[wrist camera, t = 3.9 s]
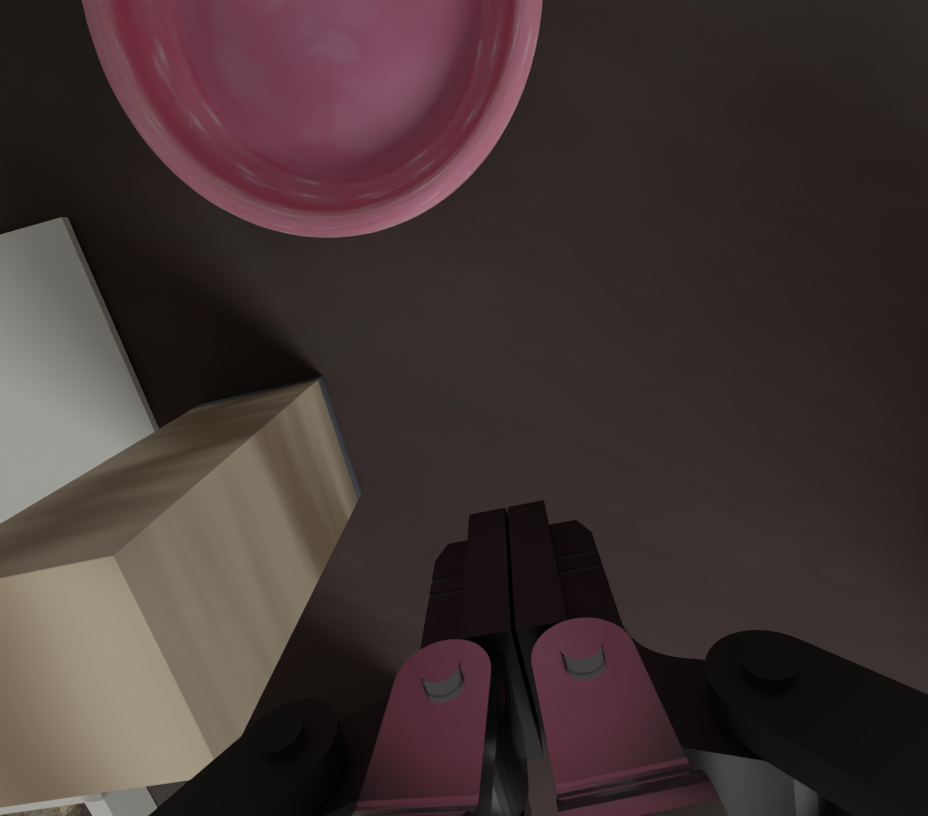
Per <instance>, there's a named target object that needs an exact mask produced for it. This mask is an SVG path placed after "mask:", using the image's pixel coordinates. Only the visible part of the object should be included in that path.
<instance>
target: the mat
mask: <svg viewBox="0 0 928 816" xmlns="http://www.w3.org/2000/svg"><path fill="white" fill-rule="evenodd" d="M158 429H159V427H158V425H157V423H156V420H155V418H154V416H153V414H152V411H151V409H150V407H149V404H148V402H147V400H146V397H145V395H144V393H143V390H142V388H141V386H140V383H139V381H138V379H137V377H136V374H135V372H134V370H133V367H132V365H131V363H130V360H129V358H128V356H127V353H126V351H125V349H124V346H123V344H122V342H121V339H120V337H119V335H118V333H117V330H116V328H115V326H114V323H113V321H112V319H111V316H110V314H109V312H108V309H107V307H106V305H105V302H104V300H103V298H102V296H101V293H100V291H99V289H98V286H97V284H96V282H95V279H94V277H93V275H92V272H91V270H90V268H89V265H88V263H87V261H86V259H85V256H84V254H83V252H82V249H81V247H80V245H79V242H78V240H77V238H76V235H75V233H74V231H73V228H72V226H71V224H70V222H69V219H68V217H61V218H57V219H54V220H50V221H46V222H43V223H39V224H36V225H32V226H29V227H25V228H22V229H18V230H15V231H11V232H8V233H4V234H1V235H0V524H1V523H2V522H4V521H6V520H7V519H9V518H11V517H12V516H14V515H16V514H17V513H19V512H21V511H22V510H24V509H26V508H27V507H29V506H31V505H32V504H34V503H36V502H37V501H39V500H41V499H42V498H44V497H46V496H48V495H49V494H51V493H53V492H54V491H56V490H58V489H59V488H61V487H63V486H64V485H66V484H68V483H69V482H71V481H73V480H74V479H76V478H78V477H79V476H81V475H83V474H84V473H86V472H88V471H89V470H91V469H93V468H94V467H96V466H98V465H100V464H101V463H103V462H105V461H106V460H108V459H110V458H111V457H113V456H115V455H116V454H118V453H120V452H121V451H123V450H125V449H126V448H128V447H130V446H131V445H133V444H135V443H136V442H138V441H140V440H141V439H143V438H145V437H147V436H148V435H150V434H152V433H153V432H155V431H157V430H158Z"/></svg>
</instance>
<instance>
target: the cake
mask: <svg viewBox="0 0 928 816" xmlns="http://www.w3.org/2000/svg"><path fill="white" fill-rule="evenodd" d="M82 804H84V805H86V804H85V803H79V804H72V805H65V806H58V807H51V808H44V809H37V810H30V811H23V812H16V813H9V814H2V815H0V816H80V811H81V805H82Z"/></svg>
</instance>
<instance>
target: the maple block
mask: <svg viewBox="0 0 928 816" xmlns="http://www.w3.org/2000/svg"><path fill="white" fill-rule="evenodd" d="M360 495H361V491H360V488H359V485H358V482H357V479H356V476H355V473H354V470H353V467H352V464H351V461H350V458H349V455H348V452H347V449H346V446H345V443H344V440H343V437H342V434H341V431H340V428H339V424H338V421H337V418H336V415H335V412H334V409H333V406H332V403H331V400H330V397H329V394H328V391H327V388H326V385H325V382H324V379H323V376H320V377H316V378H311V379H307V380H303V381H299V382H294V383H290V384H286V385H281V386H277V387H273V388H268V389H264V390H260V391H255V392H251V393H247V394H243V395H238V396H234V397H230V398H225V399H221V400H217V401H212V402H208V403H204V404H200V405H199V406H197V407H195V408H193V409H192V410H190V411H188V412H187V413H185V414H183V415H182V416H180V417H178V418H177V419H175V420H173V421H172V422H170V423H168V424H167V425H165V426H163V427H162V428H160V429H158V430H157V431H155V432H153V433H152V434H150V435H148V436H147V437H145V438H143V439H141V440H140V441H138V442H136V443H135V444H133V445H131V446H130V447H128V448H126V449H125V450H123V451H121V452H120V453H118V454H116V455H115V456H113V457H111V458H110V459H108V460H106V461H105V462H103V463H101V464H100V465H98V466H96V467H94V468H93V469H91V470H89V471H88V472H86V473H84V474H83V475H81V476H79V477H78V478H76V479H74V480H73V481H71V482H69V483H68V484H66V485H64V486H63V487H61V488H59V489H58V490H56V491H54V492H53V493H51V494H49V495H48V496H46V497H44V498H42V499H41V500H39V501H37V502H36V503H34V504H32V505H31V506H29V507H27V508H26V509H24V510H22V511H21V512H19V513H17V514H16V515H14V516H12V517H11V518H9V519H7V520H6V521H4V522H2V523H1V524H0V808H1V807H8V806H15V805H22V804H28V803H35V802H42V801H49V800H56V799H63V798H70V797H76V796H83V795H90V794H97V793H104V792H111V791H118V790H124V789H131V788H138V787H145V786H152V785H159V784H166V783H172V782H179V781H186V780H191V779H192V778H193V777H194V776H195V775H196V774H198V773H199V772H200V771H201V770H202V769H203V768H205V767H206V766H207V765H208V764H209V763H210V762H212V761H213V760H214V759H215V758H216V757H217V756H219V755H220V754H221V753H222V752H223V751H225V750H226V749H227V748H228V747H229V746H230V745H232V744H233V743H234V742H235V741H236V740H237V739H239V738H240V737H241V736H242V734H243V732H244V730H245V728H246V726H247V724H248V722H249V720H250V718H251V715H252V713H253V711H254V709H255V707H256V705H257V703H258V701H259V699H260V697H261V695H262V693H263V691H264V689H265V687H266V685H267V683H268V681H269V679H270V677H271V675H272V673H273V671H274V669H275V667H276V665H277V663H278V661H279V659H280V657H281V655H282V653H283V651H284V649H285V647H286V645H287V643H288V641H289V639H290V637H291V635H292V633H293V631H294V629H295V627H296V625H297V623H298V620H299V618H300V616H301V614H302V612H303V610H304V608H305V606H306V604H307V602H308V600H309V598H310V596H311V594H312V592H313V590H314V588H315V586H316V584H317V582H318V580H319V578H320V576H321V574H322V572H323V570H324V568H325V566H326V564H327V562H328V560H329V558H330V556H331V554H332V552H333V550H334V548H335V546H336V544H337V542H338V540H339V538H340V536H341V534H342V532H343V530H344V528H345V525H346V523H347V521H348V519H349V517H350V515H351V513H352V511H353V509H354V507H355V505H356V503H357V501H358V499H359V497H360Z"/></svg>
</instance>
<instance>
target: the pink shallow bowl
mask: <svg viewBox="0 0 928 816" xmlns="http://www.w3.org/2000/svg"><path fill="white" fill-rule="evenodd" d="M82 4H83V8H84V12H85V16H86V20H87V24H88V28H89V31H90V34H91V37H92V40H93V43H94V46H95V49H96V52H97V55H98V58H99V60H100V63H101V65H102V68H103V70H104V73H105V75H106V77H107V79H108V82H109V84H110V86H111V88H112V90H113V92H114V94H115V96H116V97H117V99H118V101H119V103H120V104H121V106H122V108H123V109H124V111H125V113H126V114H127V116H128V117H129V119H130V121H131V122H132V124H133V125H134V127H135V128H136V130H137V131H138V132H139V134H140V135H141V136H142V138H143V139H144V140H145V142H146V143H147V144H148V146H149V147H150V148H151V149H152V150H153V151H154V153H155V154H156V155H157V156H158V157H159V158H160V159H161V160H162V161H163V163H164V164H165V165H166V166H167V167H168V168H169V169H170V170H171V171H172V172H173V173H174V174H175V175H177V176H178V177H179V178H180V179H181V180H182V181H183V182H185V183H186V184H187V185H188V186H190V187H191V188H192V189H193V190H195V191H196V192H197V193H199V194H200V195H201V196H203V197H204V198H206V199H207V200H209V201H210V202H212V203H214V204H215V205H217V206H218V207H220V208H222V209H224V210H226V211H227V212H229V213H231V214H233V215H235V216H237V217H239V218H241V219H244V220H246V221H248V222H250V223H253V224H255V225H258V226H261V227H264V228H268V229H271V230H275V231H279V232H283V233H287V234H292V235H298V236H306V237H320V238H336V237H349V236H356V235H363V234H368V233H372V232H376V231H380V230H384V229H387V228H390V227H393V226H395V225H398V224H401V223H403V222H406V221H408V220H410V219H412V218H414V217H417V216H419V215H420V214H422V213H424V212H425V211H427V210H429V209H431V208H432V207H434V206H435V205H437V204H438V203H440V202H441V201H443V200H444V199H445V198H447V197H448V196H449V195H450V194H452V193H453V192H454V191H455V190H456V189H457V188H459V187H460V186H461V185H462V184H463V183H464V182H465V181H466V180H467V179H468V178H469V177H470V176H471V175H472V174H473V173H474V172H475V171H476V169H477V168H478V167H479V166H480V165H481V164H482V162H483V161H484V160H485V159H486V158H487V156H488V155H489V153H490V152H491V151H492V149H493V148H494V146H495V145H496V143H497V142H498V140H499V138H500V137H501V135H502V133H503V132H504V130H505V128H506V127H507V125H508V123H509V121H510V119H511V117H512V115H513V113H514V111H515V109H516V107H517V104H518V102H519V100H520V97H521V95H522V92H523V90H524V87H525V84H526V81H527V78H528V75H529V72H530V69H531V65H532V61H533V57H534V53H535V50H536V45H537V39H538V34H539V27H540V20H541V12H542V0H82Z"/></svg>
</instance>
